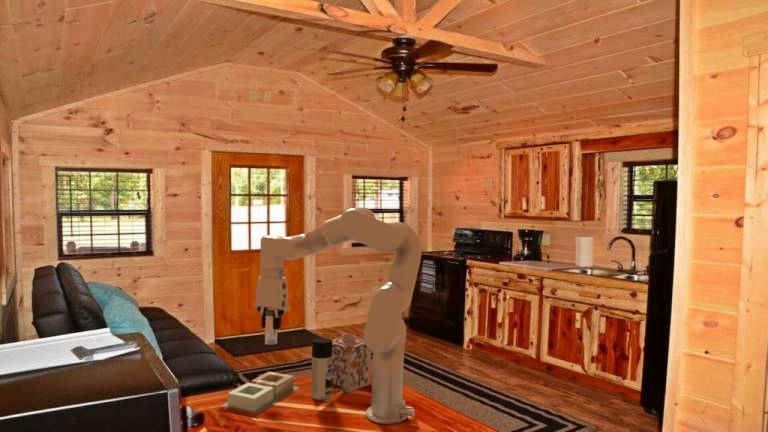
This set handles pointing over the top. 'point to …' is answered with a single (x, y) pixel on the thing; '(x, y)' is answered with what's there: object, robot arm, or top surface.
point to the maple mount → (275, 382)
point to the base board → (263, 406)
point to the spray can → (322, 369)
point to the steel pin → (270, 327)
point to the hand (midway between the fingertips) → (271, 327)
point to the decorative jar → (350, 363)
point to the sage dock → (250, 396)
